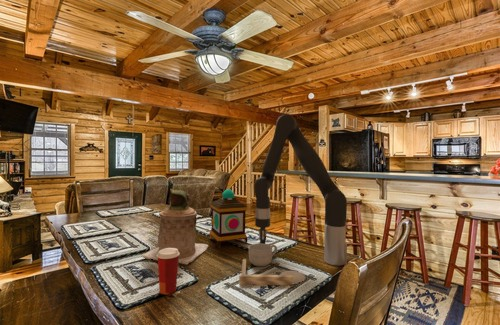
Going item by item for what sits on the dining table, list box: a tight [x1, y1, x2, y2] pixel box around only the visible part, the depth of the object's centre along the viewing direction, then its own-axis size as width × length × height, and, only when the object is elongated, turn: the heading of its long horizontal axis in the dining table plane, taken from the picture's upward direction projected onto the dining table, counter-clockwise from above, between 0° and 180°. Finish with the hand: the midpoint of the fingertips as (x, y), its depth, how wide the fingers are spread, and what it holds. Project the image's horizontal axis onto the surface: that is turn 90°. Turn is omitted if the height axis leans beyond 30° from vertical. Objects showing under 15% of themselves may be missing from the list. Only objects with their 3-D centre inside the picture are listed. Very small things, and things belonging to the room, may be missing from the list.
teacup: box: [247, 242, 278, 267], centre depth 114 cm, size 14×11×8 cm
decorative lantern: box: [208, 188, 248, 248], centre depth 145 cm, size 20×20×30 cm
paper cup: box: [156, 248, 180, 296], centre depth 89 cm, size 8×8×14 cm
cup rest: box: [238, 258, 294, 286], centre depth 103 cm, size 20×17×3 cm
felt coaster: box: [279, 270, 306, 284], centre depth 101 cm, size 10×10×1 cm
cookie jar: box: [141, 188, 209, 265], centre depth 125 cm, size 25×25×32 cm
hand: (262, 251), depth 127 cm, fingers closed
